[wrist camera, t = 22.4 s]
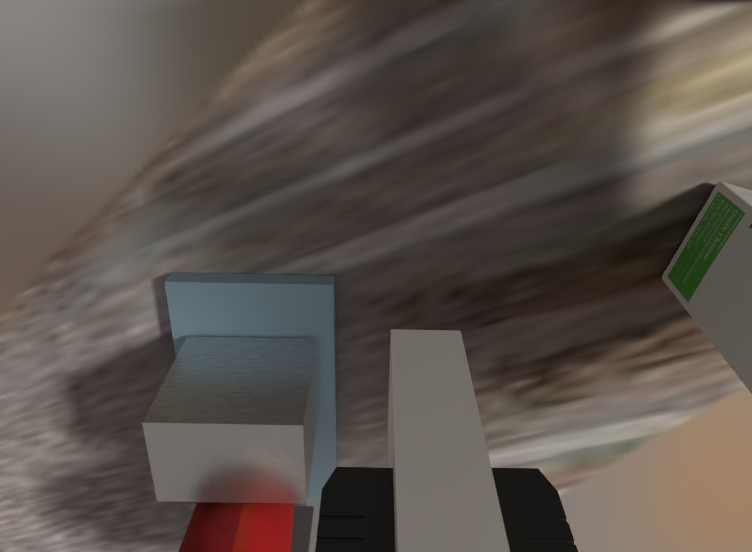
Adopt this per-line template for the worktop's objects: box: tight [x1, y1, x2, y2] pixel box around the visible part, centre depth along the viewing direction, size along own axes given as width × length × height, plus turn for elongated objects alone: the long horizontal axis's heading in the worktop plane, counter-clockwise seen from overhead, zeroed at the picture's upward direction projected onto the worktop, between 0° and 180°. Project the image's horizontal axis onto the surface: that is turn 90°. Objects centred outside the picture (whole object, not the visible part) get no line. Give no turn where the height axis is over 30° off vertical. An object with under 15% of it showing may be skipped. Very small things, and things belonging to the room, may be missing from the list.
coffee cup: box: [179, 503, 294, 552], centre depth 44 cm, size 8×8×15 cm
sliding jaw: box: [142, 336, 319, 505], centre depth 43 cm, size 10×7×10 cm
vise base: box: [164, 272, 337, 552], centre depth 45 cm, size 12×23×12 cm, turn 179°
